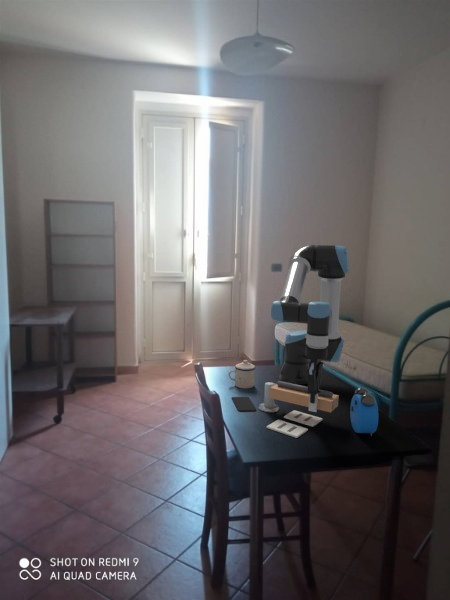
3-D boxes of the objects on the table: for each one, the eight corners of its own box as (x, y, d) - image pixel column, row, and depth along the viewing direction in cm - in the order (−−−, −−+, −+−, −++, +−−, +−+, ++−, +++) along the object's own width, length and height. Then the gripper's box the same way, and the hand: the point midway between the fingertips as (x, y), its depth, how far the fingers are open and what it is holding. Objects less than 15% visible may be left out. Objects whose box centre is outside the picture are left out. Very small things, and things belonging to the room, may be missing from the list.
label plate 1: (278, 421, 163) (278, 419, 163) (307, 430, 156) (307, 428, 156) (266, 427, 157) (266, 426, 157) (296, 438, 150) (296, 436, 150)
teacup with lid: (252, 382, 206) (253, 357, 205) (256, 388, 197) (257, 363, 196) (226, 382, 205) (227, 357, 203) (229, 389, 196) (230, 363, 194)
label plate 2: (294, 411, 173) (294, 409, 173) (322, 420, 166) (322, 418, 165) (283, 417, 166) (283, 415, 166) (312, 426, 159) (313, 424, 159)
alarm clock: (377, 440, 150) (380, 397, 148) (358, 439, 150) (362, 397, 148) (365, 424, 163) (368, 384, 161) (348, 423, 163) (351, 384, 161)
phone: (248, 396, 187) (257, 409, 172) (248, 398, 187) (257, 412, 172) (231, 397, 185) (238, 410, 171) (231, 398, 185) (238, 412, 171)
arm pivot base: (265, 403, 181) (265, 401, 180) (282, 408, 176) (282, 406, 176) (254, 408, 174) (254, 406, 174) (272, 414, 169) (272, 412, 169)
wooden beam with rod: (259, 407, 173) (261, 380, 171) (268, 401, 179) (270, 375, 178) (330, 425, 158) (332, 396, 157) (337, 418, 165) (339, 390, 163)
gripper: (311, 341, 163) (307, 403, 166) (300, 348, 152) (297, 414, 155) (331, 344, 160) (327, 407, 163) (322, 351, 148) (318, 419, 151)
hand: (312, 410), depth 159 cm, fingers closed
